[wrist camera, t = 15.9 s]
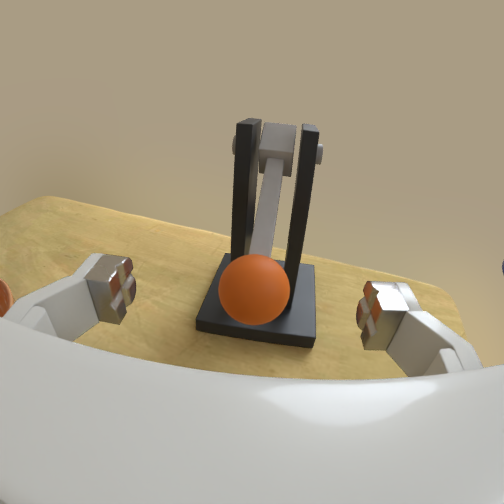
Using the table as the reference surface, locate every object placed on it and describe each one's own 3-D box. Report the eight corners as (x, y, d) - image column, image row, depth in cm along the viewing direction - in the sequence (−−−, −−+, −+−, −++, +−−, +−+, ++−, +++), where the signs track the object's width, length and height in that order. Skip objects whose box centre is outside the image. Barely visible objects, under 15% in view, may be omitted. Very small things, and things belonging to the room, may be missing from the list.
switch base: (312, 348, 21) (360, 144, 14) (195, 330, 22) (189, 126, 15) (312, 274, 30) (337, 125, 22) (225, 262, 31) (230, 114, 23)
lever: (282, 335, 16) (287, 321, 12) (217, 325, 16) (205, 308, 13) (302, 156, 21) (307, 119, 18) (255, 150, 22) (254, 114, 18)
